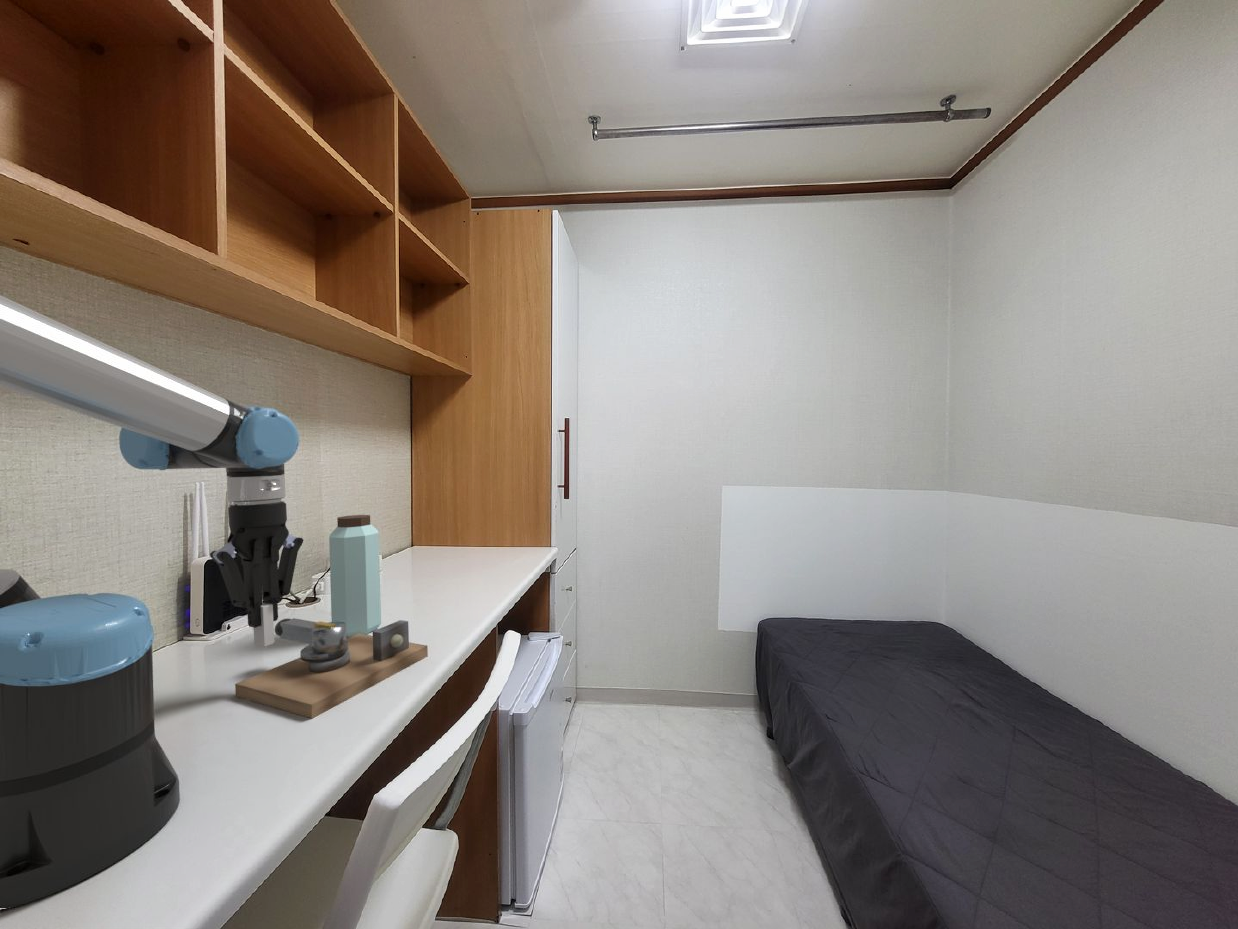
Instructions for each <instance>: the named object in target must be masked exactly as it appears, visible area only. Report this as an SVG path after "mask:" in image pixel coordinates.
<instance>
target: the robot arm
mask: <svg viewBox="0 0 1238 929" xmlns="http://www.w3.org/2000/svg"><path fill="white" fill-rule="evenodd" d="M0 387H1V388H3V389H7V390H9V391H12V392H14V393H15V392H16V393H17V394H20V395H21V394H22V395H24V396H27V397H30V398H33V399H36V400H39V401H42V402H45V403H48V404H51V405H54V406H57V407H60V408H63V409H66V410H69V411H71V412H75V413H77V414H80V415H84V416H86V417H90V418H93V419H96V420H99V421H101V422H105V423H107V424H110V425H113V426H116V427H119V428H121V429H120V432H119V436H118V442H119V445H118V446H119V450H120V453H121V455H122V457H123V459H124V461H125V462H126V463H127V464H128V465H130V466H131V467H133V468H135V469H138V470H158V471H166V470H182V469H187V470H188V469H189V470H190V469H225V471H226V472H225V473H226V488H227V489H226V491H227V495H226V496H227V502H230V503H232V504H231V505H229V506H228V507H227V509H228V510H227V512H228V527H229V530H230V532H229V536H228V538H227V540H226V541H227V543H226V544H225V545H224V546H222V547H221V548H219V549H218V550H212V551H211V552H210V553H209V557H210V558H211V559H212V560H213V561H214V562H215V563H216V564H217V565H218V567H219V570H220V573H221V576H222V579H223V581H224V585H225V588H226V591H227V592H228V593H227V594H228V596H229V598H230V602H231V604H232V606H234V607H239V608H245V609H246V611H247V612H246V614H247V625H248V626H249V627H250V628H253V642H254V643H253V645H257V646H261V647H266V646H271V645H273V644H275V624H274V622H277V621H278V620H279V609H278V608H279V606H278V604H280V603H281V602H282V601H283V597H285V596H289V595H290V593H291V589H292V583H293V580H294V573H295V568H296V562H297V558H298V554H299V551H300V549H301V547H302V545H303V543H304V539H303V537H296V536H293V535H291V534H290V531H289V529H288V528H287V526H286V522H287V520H288V516H287V503H286V502H285V501H282V499H285V498H286V477H285V464H286V463H287V462H289V461H290V460H291V459H292V458H294V456H295V454H296V453H297V450H298V449H299V445H300V444H299V443H300V436H299V430H298V428H297V427H296V425H295V423H294V422H293V421H292V420H291V418H289V416H287V415H286V414H283V413H281V412H280V411H278V410H277V409H276V408H271V407H262V406H261V407H259V406H242V405H240V404H238V403H235V402H233V401H231V400H229V399H226V398H224V397H222V396H220V395H217V394H216V393H213V392H211V391H209V390H207V389H204V388H202V387H200V386H197V385H196V384H193V383H191V382H189V381H187V380H185V379H183V378H180V377H179V376H176V375H173V374H172V373H169V372H167V371H166V370H163V369H161V368H158V367H157V366H154V365H152V364H150V363H148V362H146V361H143V360H142V359H139V358H137V357H135V356H133V355H131V354H129V353H127V352H125V351H122V350H119V349H118V348H115V347H113V346H111V345H109V344H107V343H106V342H105V343H104V342H103V341H100V340H98V339H96V338H94V337H91V336H89V334H88V335H87V334H86V333H83V332H82V331H79V330H77V329H75V328H72V327H70V326H68V325H66V324H64V323H61V322H59V321H57V320H55V319H53V318H51V317H50V316H49V317H48V316H46V315H44V314H42V313H40V312H39V311H38V312H37V311H35V310H33V309H32V308H29V307H26V306H25V305H22V304H20V303H18V302H16V301H14V300H12V299H9V298H7V297H5V296H3V295H1V294H0ZM282 547H283V548H282ZM281 548H282V550H281ZM280 550H281V553H280ZM235 553H236V554H237V555H238V556H239V557H240V561H241V562H240V563H241V565H242V566H243V578H242V575H241V571H240V570H239V566H238V563H237V561H236V560H235V559H234V558H236V554H235ZM278 562H279V563H278ZM263 601H264V602H263ZM150 616H151V615H150V610H149V608H148V606H147V605H146V604H145V603H144V602H143V601H142V600H140V599H138V598H136V597H134V596H131V595H125V594H120V593H113V592H112V593H111V592H110V593H109V592H99V593H96V594H89V593H73V594H64V595H63V594H62V595H55V596H49V597H47V596H46V597H41V596H40V595H39V594H38V593H37V592H36V591H35V590H34V588H32V587H31V586H30V584H29V583H28V582H27V581H26V580H25V579H24V578H23V577H22V575H20V574H19V572H17V570H14V569H7V568H0V908H8V909H12V908H15V907H19V906H22V905H25V904H27V903H31V902H34V901H36V900H40V899H42V898H44V897H47V896H49V895H51V894H55V893H57V892H60V891H62V890H63V889H66V888H68V887H71V886H72V885H75V884H77V883H80V882H81V881H83V880H86V879H87V878H89V877H91V876H93V875H96V873H98V872H101V871H103V870H104V869H106V868H108V867H110V866H111V865H113V864H115V863H116V862H118V861H119V860H121V859H123V858H124V857H126V856H127V855H129V854H130V853H132V852H133V851H135V850H136V849H138V848H139V847H141V846H142V845H144V844H145V843H146V842H147V841H149V840H150V839H151V838H153V836H155V835H156V834H157V833H158V832H160V830H161V829H162V828H164V826H165V825H166V824H167V823H168V822H169V821H170V819H171V818H172V817H173V816H174V814H175V813H176V811H177V809H178V807H179V805H180V803H181V802H180V800H181V798H180V797H181V795H180V779H179V776H178V774H177V772H176V770H175V768H174V766H173V765H172V763H171V762H170V760H169V758H168V756H167V755H166V753H165V751H164V749H163V748H162V746H161V744H160V742H159V741H158V739H157V737H156V731H155V730H156V729H155V702H154V701H155V699H154V698H155V697H154V696H155V694H154V665H153V664H154V662H153V657H154V656H153V643H154V635H155V633H154V627H153V625H152V621H151V617H150ZM9 907H10V908H9Z"/></svg>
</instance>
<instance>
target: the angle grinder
mask: <svg viewBox="0 0 1238 929" xmlns="http://www.w3.org/2000/svg"><path fill="white" fill-rule="evenodd" d="M274 634H275V635H277V636H278V637H279V638H280V639H282V640H288V641H293V642H296V643H297V642H298V643H302V644H308V645H306V646H305V647H303V648H302V649H301V650H300V653H299V656H300V657H299V658H301V660H303V661H306V662H316V661H324V660H330V659H334V658H337V657H340V656H342V655H344V654H345V653H346V651H347V650H348V641H347V640H346V639H347V637H346V623H345V622H332V621H329V622H325V621H317V622H316V621H311V620H306V619H301V618H300V619H299V618H283V619H281V620H279V621H278V622H277V623H276V624H275V625H274Z"/></svg>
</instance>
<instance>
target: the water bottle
mask: <svg viewBox="0 0 1238 929" xmlns="http://www.w3.org/2000/svg"><path fill="white" fill-rule="evenodd" d="M379 535H380V534H379V530H378V529H377V528H376V527H375V526H373V525H372V523H371V514H355V515H353V514H352V515H343V516H337V527H335V529H334V530H332V532H331V533H330V534H329V537H328V539H329V540H328V542H329V544H328V545H329V547H328V548H329V574H330V575H329V577H330V578H329V579H330V581H329V582H330V611H331V612H330V613H331V616H330V617H331V618H330V619H331V622H345V623H346V638H349V637H352V636H354V635H357V634H365V635H369V634H370V633H373V631H375V630H378V629H379V627H380V626H381V624H382V608H381V607H382V606H381V605H382V604H381V601H382V600H381V572H380V570H381V569H380V568H381V566H380V536H379Z"/></svg>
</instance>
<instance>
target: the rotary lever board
mask: <svg viewBox="0 0 1238 929" xmlns="http://www.w3.org/2000/svg"><path fill="white" fill-rule="evenodd" d="M409 633H410V632H409V621H408V620H401V619H399V620H397V621H395V622H393V623H390V624H388V625H385V626H382V627H381V628H378V629H376V630H374V631H372V635H370V634H357V635H354V636H352V637H349V638H348V637H346V640H347V641H348V650H347V651H346V653H345V654H344V655H342V656H340V657H337V658H334V659H330V660H324V661H316V662H306V661H303V660H301V658H300V657H298V658H296V659H293V660H291V661H290V660H289V661H287V662H286V663H283V664H280V665H279V666H275V667H274V668H271V669H268V670H266V671H263V672H260V673H258V674H256V675H254V676H251V677H249V678H246V679H244V680H241V681H239V682H236V683H234V688H235V689H234V691H235V693H234V694H235V697H237V698H240V699H244V700H247V701H251V702H254V703H258V704H260V705H261V704H262V705H265V706H269V707H272V708H275V709H279V710H282V711H285V712H289V713H292V714H296V715H300V716H302V717H305V718H310V719H314V718H316V717H317V716H319V715H321V714H323V713H325V712H326V711H329V710H331V709H332V708H334V707H336V706H337V705H339V704H341V703H343V702H345V701H347V700H349V699H351V698H352V697H355V696H357V695H359V694H360V693H362V692H364V691H366V690H369V688H372V687H373V686H375V685H376V684H379V683H380V682H382V681H384V680H386V679H388V678H391V677H392V676H393V675H395V674H398V673H399V672H400V671H403V670H404V669H407V668H408V667H410V666H412V665H414V664H416V663H418V662H420V661H421V660H423V659H425V658H427V657H428V651H429V650H428V645H427V644H426V645H425V644H421V643H414V642H410V641H409V640H410V636H409V635H410V634H409Z"/></svg>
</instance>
